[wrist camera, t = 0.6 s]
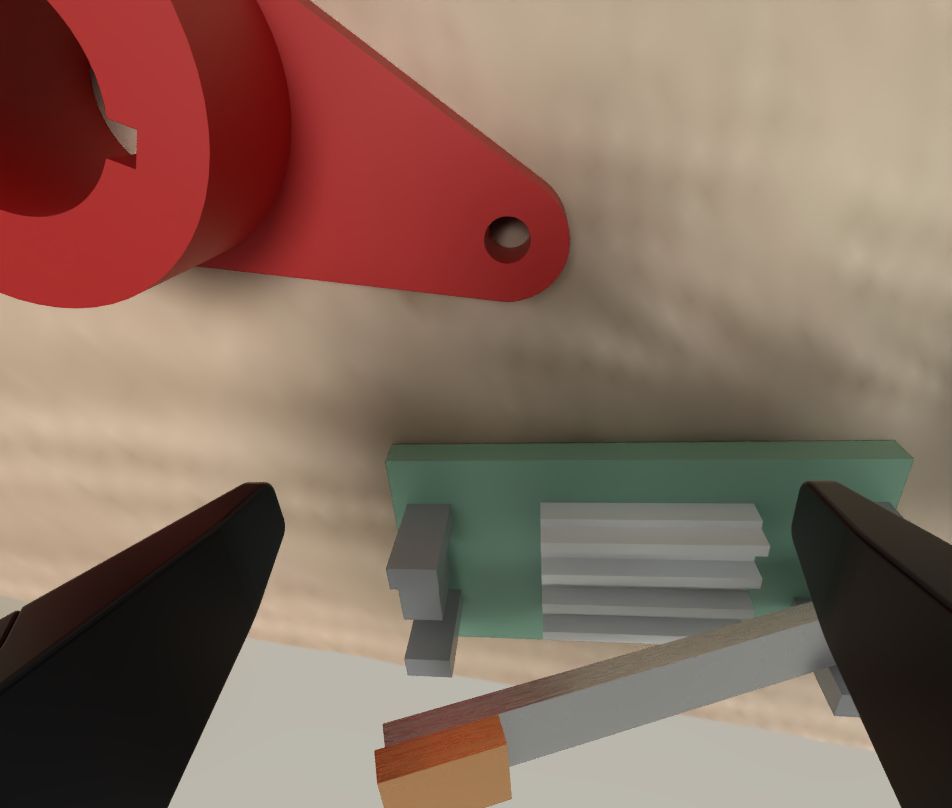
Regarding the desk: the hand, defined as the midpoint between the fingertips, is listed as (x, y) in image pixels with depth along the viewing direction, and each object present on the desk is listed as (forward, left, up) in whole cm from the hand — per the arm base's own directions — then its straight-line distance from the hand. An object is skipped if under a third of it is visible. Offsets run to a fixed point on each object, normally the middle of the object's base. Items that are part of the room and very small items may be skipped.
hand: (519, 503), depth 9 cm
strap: (-4, +11, -6) cm, 13 cm away
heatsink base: (-4, +11, -12) cm, 17 cm away
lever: (+7, -5, -12) cm, 15 cm away
